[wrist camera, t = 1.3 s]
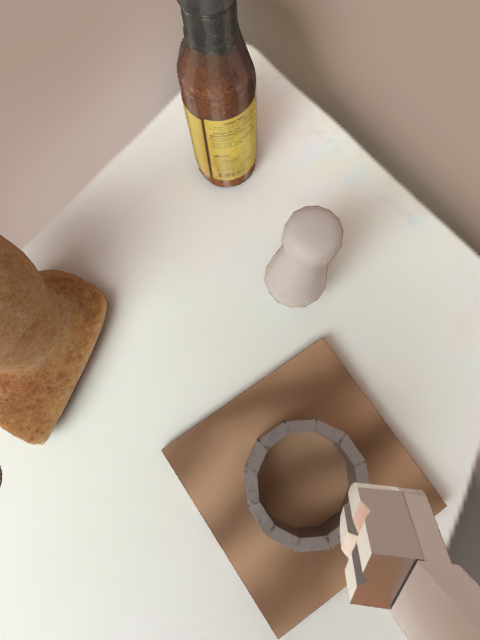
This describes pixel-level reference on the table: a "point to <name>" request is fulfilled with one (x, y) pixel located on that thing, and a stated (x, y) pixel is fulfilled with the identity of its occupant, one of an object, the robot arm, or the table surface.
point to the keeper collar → (279, 530)
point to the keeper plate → (289, 478)
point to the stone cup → (42, 342)
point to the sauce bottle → (218, 90)
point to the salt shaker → (304, 256)
